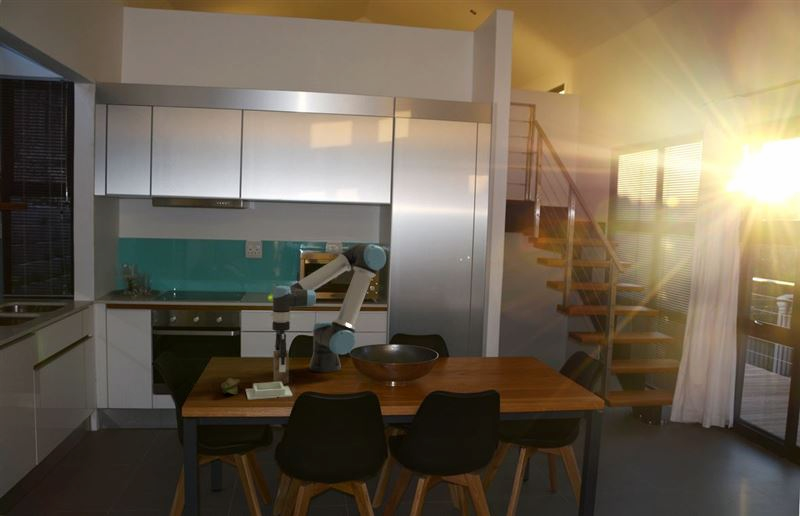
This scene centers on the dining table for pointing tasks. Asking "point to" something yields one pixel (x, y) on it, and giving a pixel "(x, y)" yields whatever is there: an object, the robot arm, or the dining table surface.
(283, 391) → the holder plate
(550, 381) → the dining table surface
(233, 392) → the fruit
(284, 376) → the wooden square post
